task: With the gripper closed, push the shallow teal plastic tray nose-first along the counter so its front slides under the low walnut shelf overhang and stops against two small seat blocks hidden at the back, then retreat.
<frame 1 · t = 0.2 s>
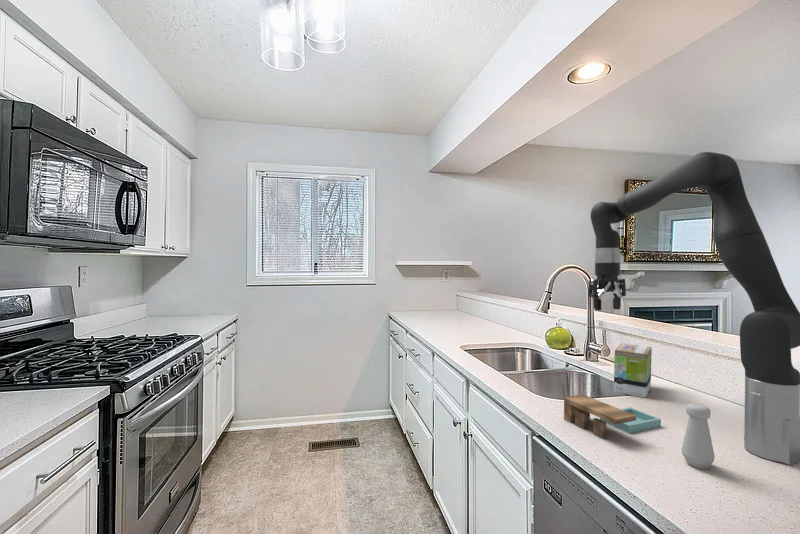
hand: (607, 309, 130), 28 cm above the worktop, tool pointing down, fingers open, 8 cm apart
tray: (629, 424, 106), on the worktop
shelf: (598, 429, 102), on the worktop
tea box: (632, 390, 135), on the worktop
salt shaker: (697, 465, 85), on the worktop
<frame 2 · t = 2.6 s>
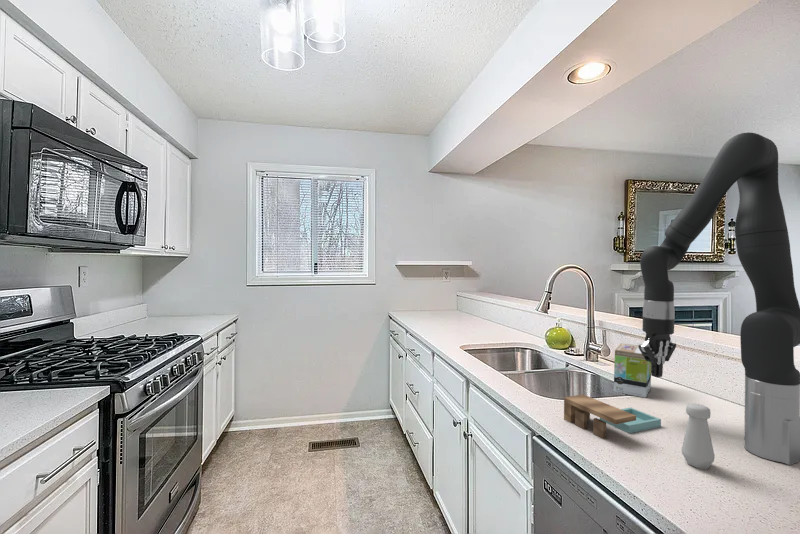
hand: (656, 376, 110), 12 cm above the worktop, tool pointing down, fingers closed
nothing on the worktop moved.
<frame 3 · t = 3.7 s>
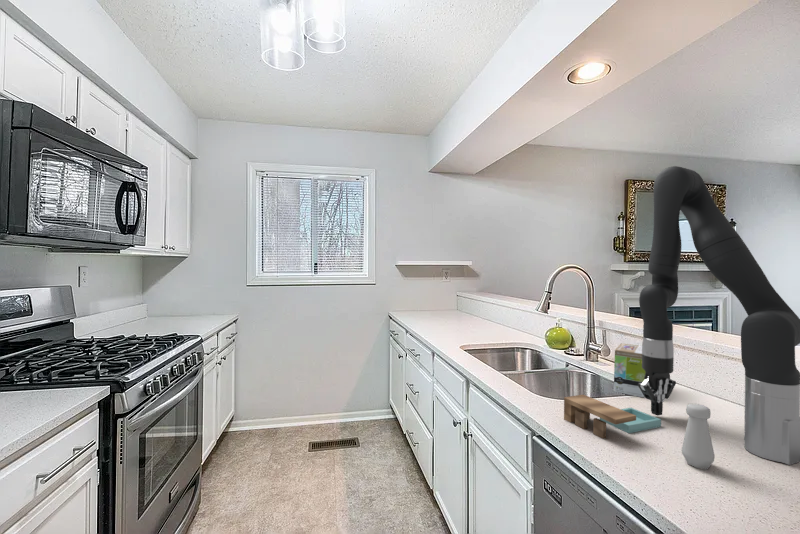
hand: (656, 414, 110), 1 cm above the worktop, tool pointing down, fingers closed
nothing on the worktop moved.
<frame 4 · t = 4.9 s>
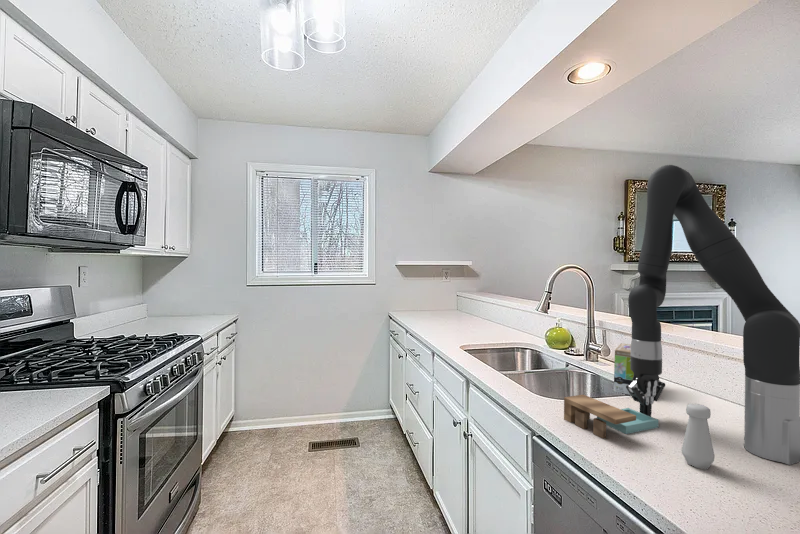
hand: (645, 416, 109), 1 cm above the worktop, tool pointing down, fingers closed
tray: (627, 425, 106), on the worktop, touching gripper
everything else where it was.
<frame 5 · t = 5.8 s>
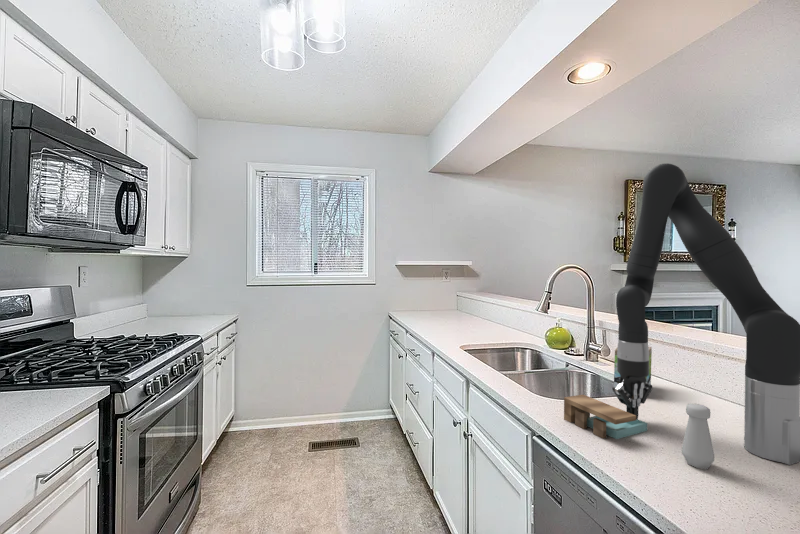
hand: (632, 419, 107), 1 cm above the worktop, tool pointing down, fingers closed
tray: (616, 429, 103), on the worktop
everything else where it was.
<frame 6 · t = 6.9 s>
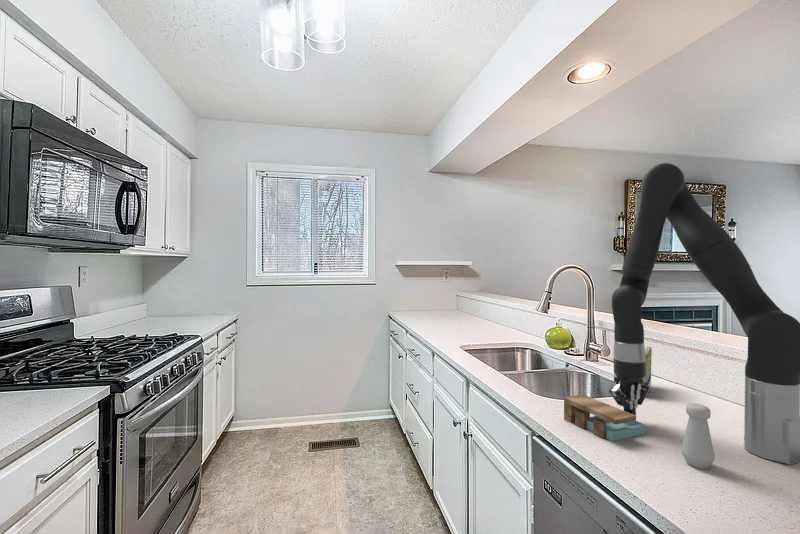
hand: (629, 420, 106), 1 cm above the worktop, tool pointing down, fingers closed
tray: (613, 430, 102), on the worktop, touching gripper, shelf
everything else where it was.
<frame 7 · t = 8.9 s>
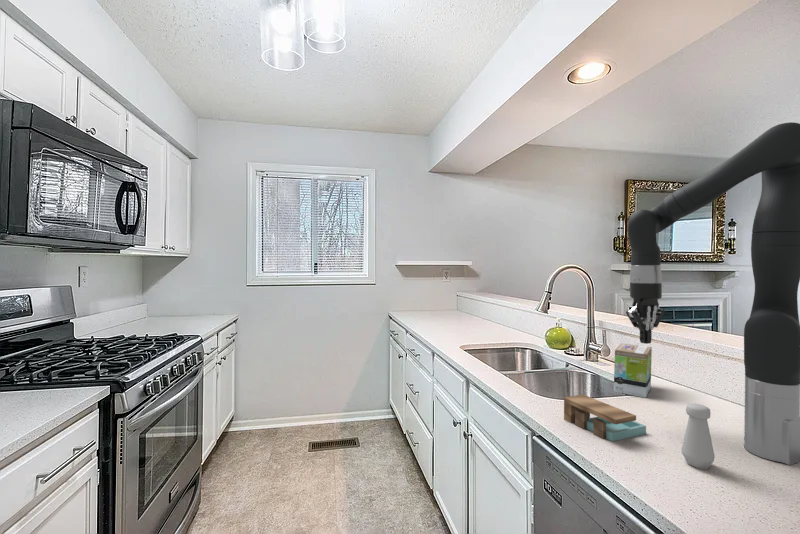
hand: (645, 343, 108), 22 cm above the worktop, tool pointing down, fingers closed
tray: (613, 431, 102), on the worktop
everything else where it was.
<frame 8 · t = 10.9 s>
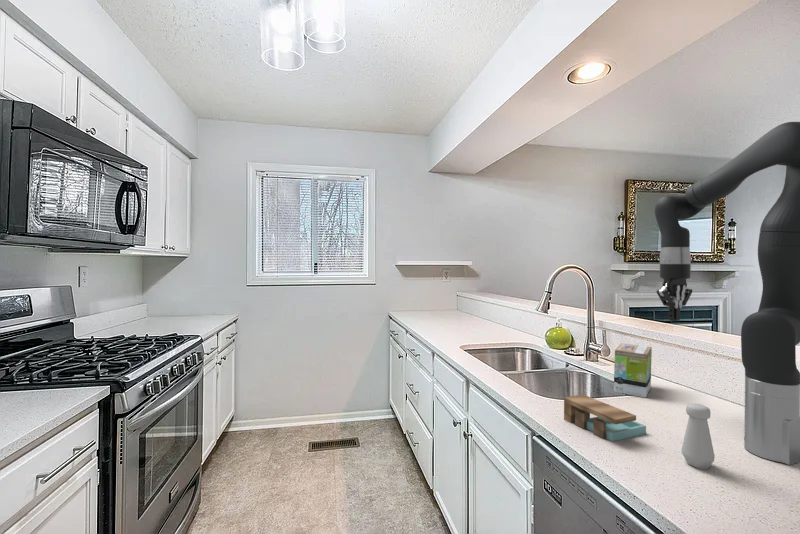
hand: (674, 320, 115), 27 cm above the worktop, tool pointing down, fingers closed
nothing on the worktop moved.
at the end: tray 1.7 cm from the target spot on the shelf, point 0.0 cm above the shelf's base; tray tilted 0°; the gripper is holding nothing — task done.
